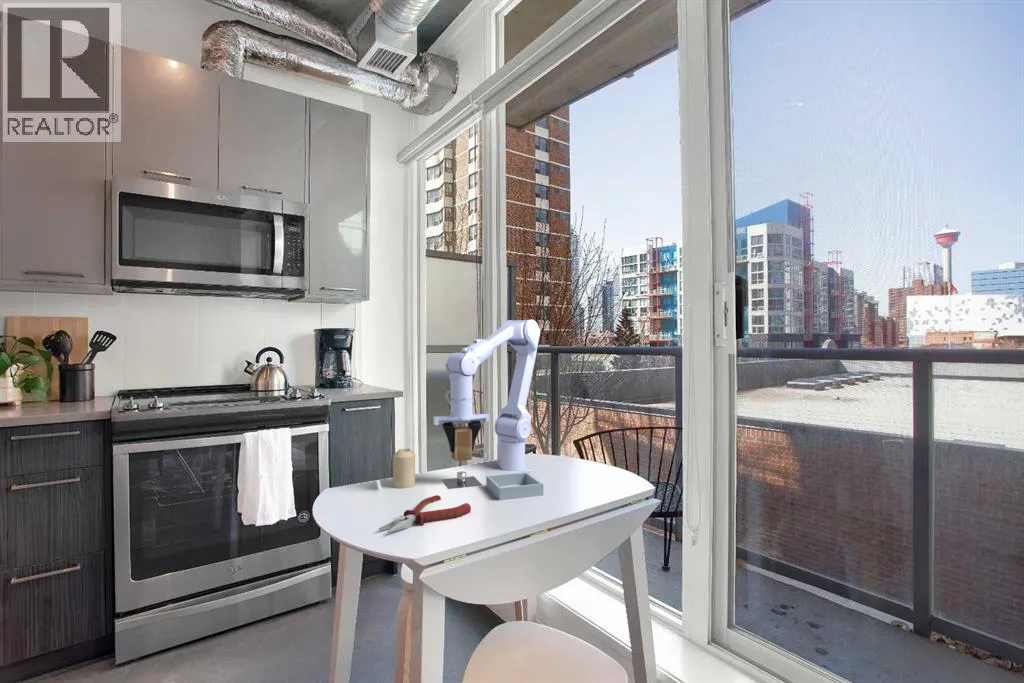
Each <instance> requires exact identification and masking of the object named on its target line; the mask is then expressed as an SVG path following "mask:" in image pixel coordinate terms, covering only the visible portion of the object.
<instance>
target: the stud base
mask: <svg viewBox="0 0 1024 683" xmlns="http://www.w3.org/2000/svg"><path fill="white" fill-rule="evenodd" d="M441 481H442V482H443V484H444V486H445V487H446V488H447V489H448V490H451V489H452V490H454V489H464V488H473V487H482V486H484V485H483V484H482V483H481V482H480V480H478V479H477V478H476V477H475V476H474V475H472V476H467V472H466V471H457V472H456V477H454V478H453V477H451V478H450V477H449V478H442V479H441Z"/></svg>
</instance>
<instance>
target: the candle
mask: <svg viewBox="0 0 1024 683" xmlns="http://www.w3.org/2000/svg"><path fill="white" fill-rule="evenodd" d="M392 477H393V478H392V486H393V488H396V489H409V488H413V487H415V486H416V454H415V453H414V452H413V450H411V449H410V448H404V449H403V448H399V449H398V450H397V451H396V452H394V454H393V455H392Z"/></svg>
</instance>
